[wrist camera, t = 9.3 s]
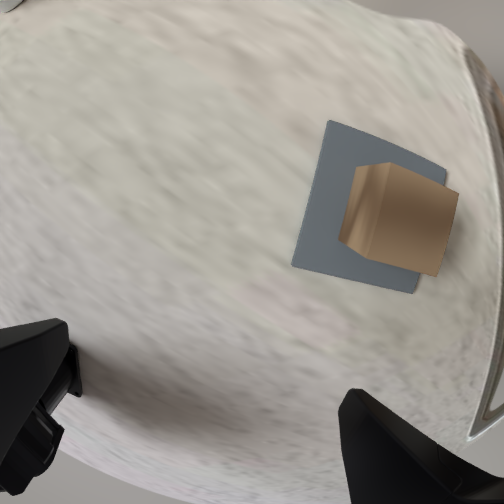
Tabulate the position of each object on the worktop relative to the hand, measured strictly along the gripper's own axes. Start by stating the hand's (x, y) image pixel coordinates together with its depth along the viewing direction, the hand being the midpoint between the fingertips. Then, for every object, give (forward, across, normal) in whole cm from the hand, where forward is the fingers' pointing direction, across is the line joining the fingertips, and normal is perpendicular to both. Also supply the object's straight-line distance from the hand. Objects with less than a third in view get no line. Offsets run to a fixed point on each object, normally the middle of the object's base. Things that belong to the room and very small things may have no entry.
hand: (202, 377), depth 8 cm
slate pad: (+12, -9, -6) cm, 16 cm away
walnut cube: (+12, -9, -6) cm, 16 cm away
